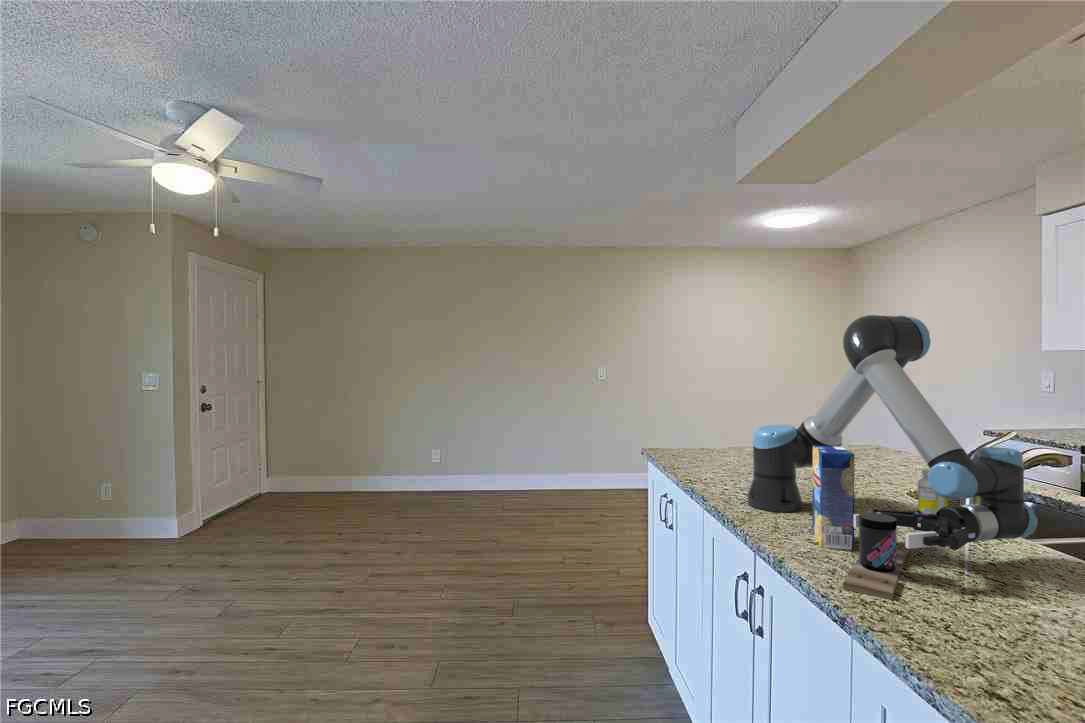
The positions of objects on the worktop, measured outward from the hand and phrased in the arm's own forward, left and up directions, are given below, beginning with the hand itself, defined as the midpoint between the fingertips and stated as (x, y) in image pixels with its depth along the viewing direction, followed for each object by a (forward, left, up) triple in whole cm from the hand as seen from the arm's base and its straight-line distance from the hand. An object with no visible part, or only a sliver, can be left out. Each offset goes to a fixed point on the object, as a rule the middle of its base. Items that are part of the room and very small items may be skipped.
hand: (879, 530), depth 116 cm
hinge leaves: (0, 0, -8) cm, 8 cm away
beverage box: (-11, +15, -9) cm, 21 cm away
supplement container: (0, 0, -8) cm, 8 cm away
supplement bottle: (+7, +53, -9) cm, 54 cm away
